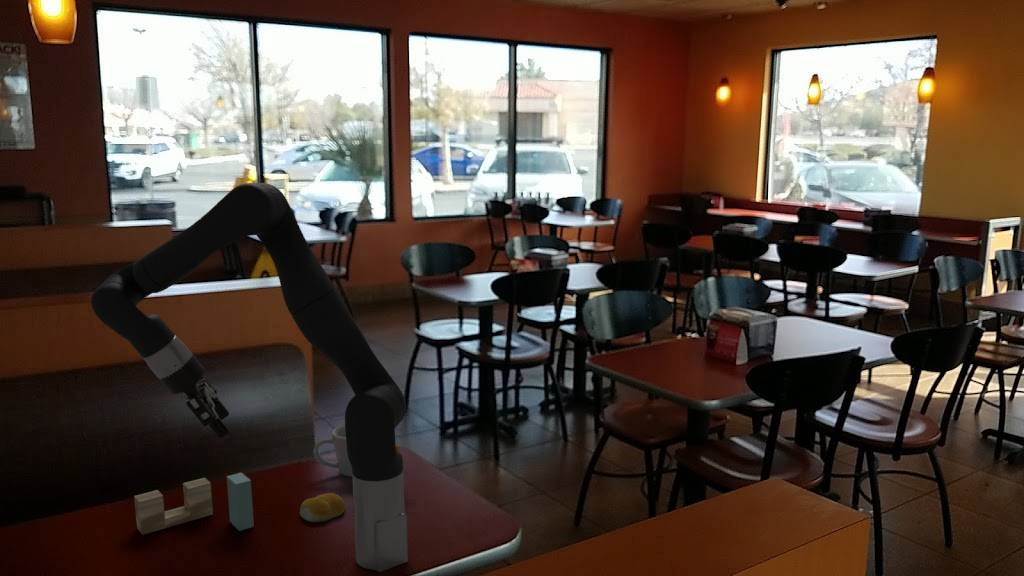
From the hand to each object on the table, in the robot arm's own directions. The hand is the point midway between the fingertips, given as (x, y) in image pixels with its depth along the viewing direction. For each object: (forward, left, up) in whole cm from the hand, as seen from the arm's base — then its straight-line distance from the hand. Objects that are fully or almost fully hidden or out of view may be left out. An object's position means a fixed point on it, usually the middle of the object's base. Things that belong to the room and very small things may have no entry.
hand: (225, 425), depth 162 cm
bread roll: (-7, -16, -22) cm, 28 cm away
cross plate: (-1, -1, -21) cm, 21 cm away
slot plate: (+9, +9, -21) cm, 24 cm away
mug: (+9, -30, -21) cm, 38 cm away
